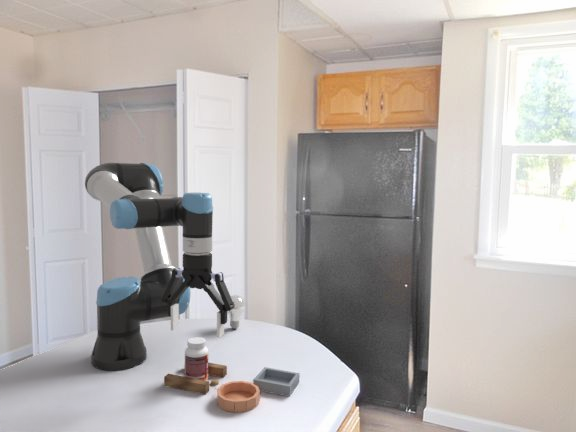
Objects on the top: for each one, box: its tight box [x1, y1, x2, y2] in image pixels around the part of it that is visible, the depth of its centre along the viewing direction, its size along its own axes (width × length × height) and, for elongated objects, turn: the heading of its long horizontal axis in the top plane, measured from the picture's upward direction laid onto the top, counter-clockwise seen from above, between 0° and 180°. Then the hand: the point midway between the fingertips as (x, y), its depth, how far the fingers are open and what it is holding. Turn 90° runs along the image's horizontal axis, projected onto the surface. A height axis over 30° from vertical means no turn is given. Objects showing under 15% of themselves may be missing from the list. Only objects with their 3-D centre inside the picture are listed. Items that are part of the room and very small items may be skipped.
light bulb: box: [227, 294, 246, 330], centre depth 163 cm, size 7×7×12 cm
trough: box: [252, 366, 301, 397], centre depth 123 cm, size 10×8×3 cm
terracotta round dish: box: [216, 380, 261, 413], centre depth 115 cm, size 10×10×3 cm
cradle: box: [163, 361, 228, 395], centre depth 125 cm, size 12×12×2 cm
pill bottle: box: [184, 336, 209, 381], centre depth 125 cm, size 6×6×11 cm
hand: (197, 332), depth 123 cm, fingers open, 13 cm apart
